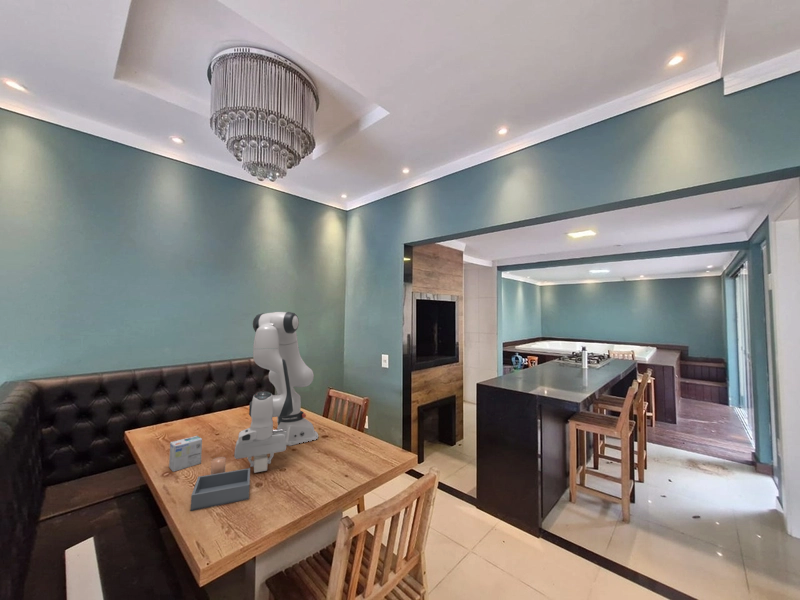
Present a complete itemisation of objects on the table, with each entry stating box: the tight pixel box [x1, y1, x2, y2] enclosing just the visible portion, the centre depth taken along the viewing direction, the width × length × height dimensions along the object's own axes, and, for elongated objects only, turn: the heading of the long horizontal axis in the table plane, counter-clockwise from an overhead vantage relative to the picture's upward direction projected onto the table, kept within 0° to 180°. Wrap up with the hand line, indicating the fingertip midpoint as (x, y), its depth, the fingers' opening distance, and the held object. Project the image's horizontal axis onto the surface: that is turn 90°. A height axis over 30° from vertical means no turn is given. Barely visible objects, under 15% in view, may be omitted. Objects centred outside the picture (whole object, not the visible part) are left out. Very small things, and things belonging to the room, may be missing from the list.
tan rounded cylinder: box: [210, 456, 226, 475], centre depth 127 cm, size 5×5×7 cm
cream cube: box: [253, 454, 269, 473], centre depth 133 cm, size 5×5×5 cm
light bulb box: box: [168, 435, 203, 473], centre depth 137 cm, size 11×7×11 cm, turn 141°
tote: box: [190, 467, 251, 512], centre depth 114 cm, size 18×14×5 cm
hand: (260, 464), depth 133 cm, fingers closed on cream cube, 5 cm apart
